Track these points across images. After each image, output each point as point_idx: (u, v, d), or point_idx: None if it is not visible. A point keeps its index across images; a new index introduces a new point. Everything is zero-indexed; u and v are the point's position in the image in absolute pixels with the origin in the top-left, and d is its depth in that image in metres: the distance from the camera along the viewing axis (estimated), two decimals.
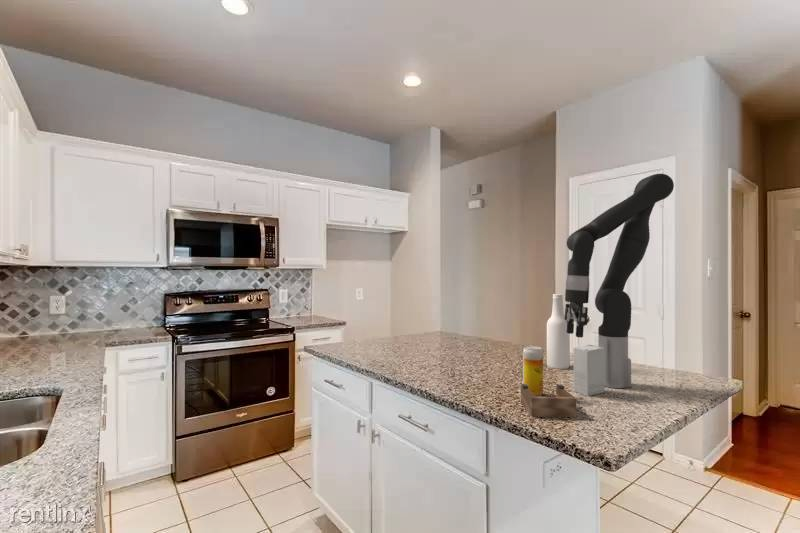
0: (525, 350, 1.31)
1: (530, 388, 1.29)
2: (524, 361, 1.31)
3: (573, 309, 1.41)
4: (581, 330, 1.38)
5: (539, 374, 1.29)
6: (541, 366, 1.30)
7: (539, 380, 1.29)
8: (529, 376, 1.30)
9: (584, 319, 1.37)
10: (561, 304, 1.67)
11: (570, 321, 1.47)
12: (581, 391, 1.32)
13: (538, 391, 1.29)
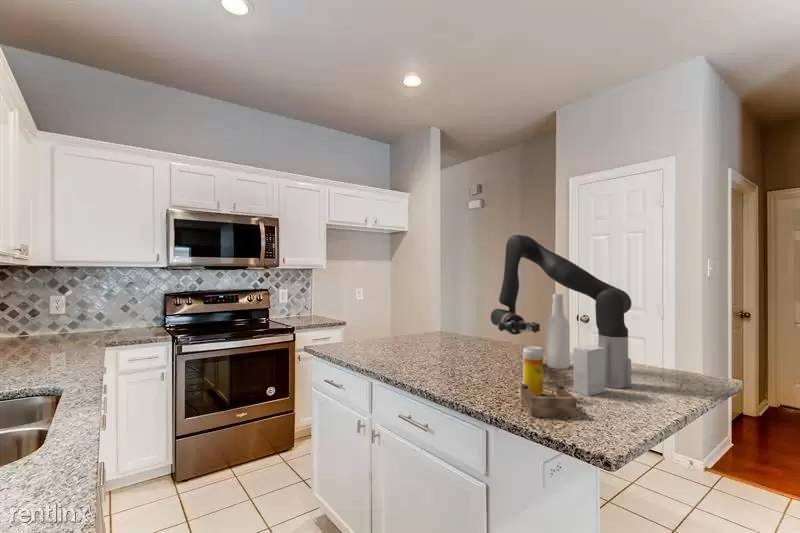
0: (525, 350, 1.31)
1: (530, 388, 1.29)
2: (524, 361, 1.31)
3: None
4: (506, 327, 1.46)
5: (539, 374, 1.29)
6: (541, 366, 1.30)
7: (539, 380, 1.29)
8: (529, 376, 1.30)
9: (502, 324, 1.50)
10: (561, 304, 1.67)
11: None
12: (581, 391, 1.32)
13: (538, 391, 1.29)
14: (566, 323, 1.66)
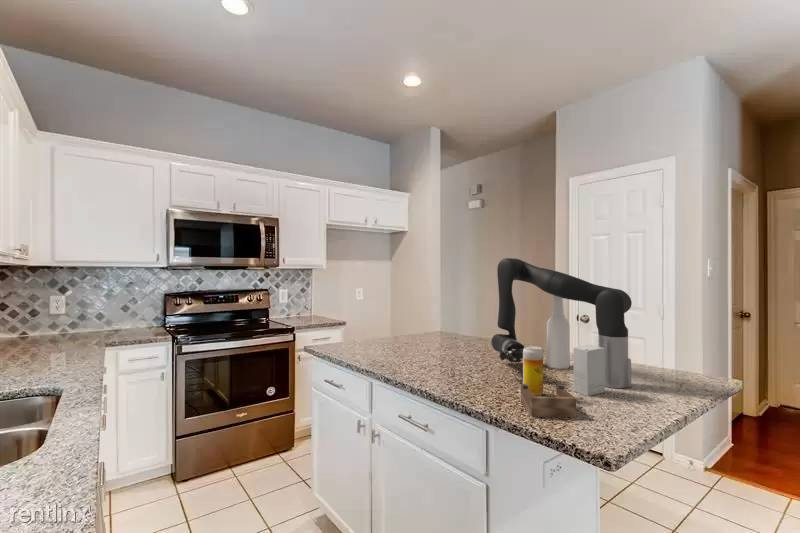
0: (525, 350, 1.31)
1: (530, 388, 1.29)
2: (524, 361, 1.31)
3: None
4: (507, 357, 1.45)
5: (539, 374, 1.29)
6: (541, 366, 1.30)
7: (539, 380, 1.29)
8: (529, 376, 1.30)
9: (503, 353, 1.48)
10: (561, 304, 1.67)
11: None
12: (581, 391, 1.32)
13: (538, 391, 1.29)
14: (566, 323, 1.66)
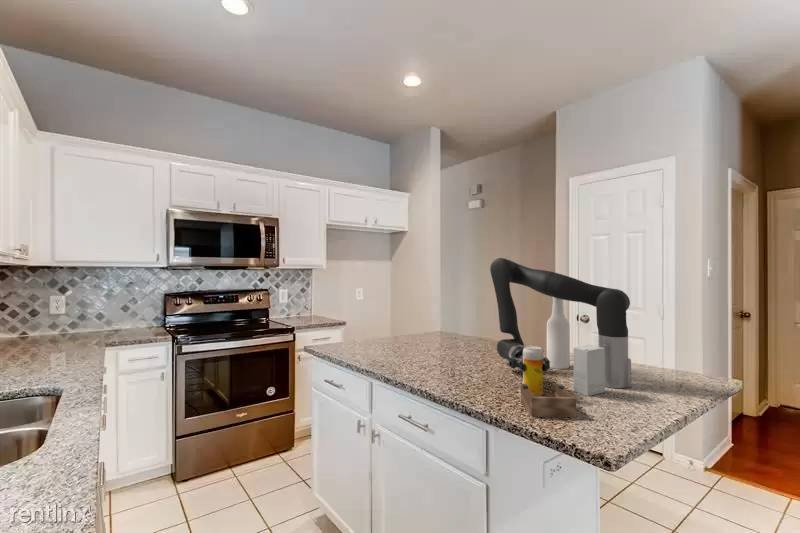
0: (525, 350, 1.31)
1: (530, 388, 1.29)
2: (524, 361, 1.31)
3: None
4: (519, 365, 1.32)
5: (539, 374, 1.29)
6: (541, 366, 1.30)
7: (539, 379, 1.29)
8: (529, 376, 1.30)
9: None
10: (561, 304, 1.67)
11: None
12: (581, 391, 1.32)
13: (538, 391, 1.29)
14: (566, 323, 1.66)
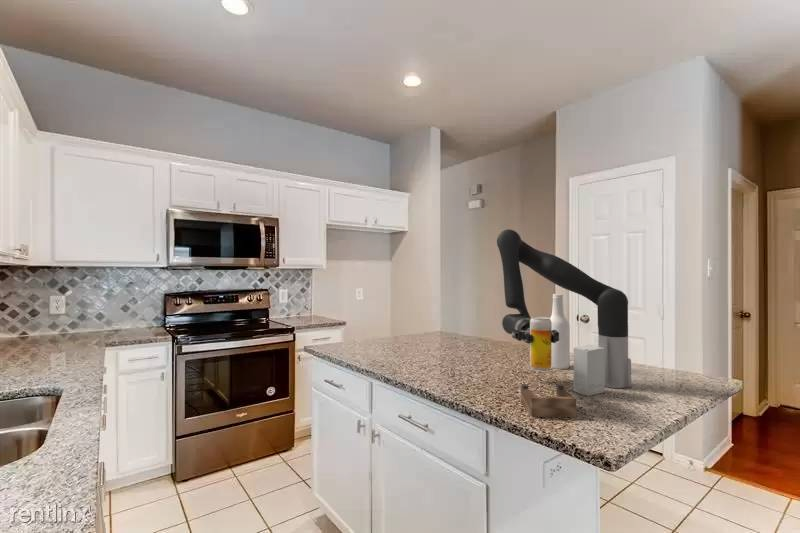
0: (532, 320, 1.21)
1: (537, 361, 1.20)
2: (531, 332, 1.22)
3: None
4: (525, 337, 1.23)
5: (548, 345, 1.20)
6: (549, 337, 1.20)
7: (547, 352, 1.19)
8: (536, 347, 1.20)
9: None
10: (561, 304, 1.67)
11: None
12: (581, 391, 1.32)
13: (546, 364, 1.19)
14: (566, 323, 1.66)
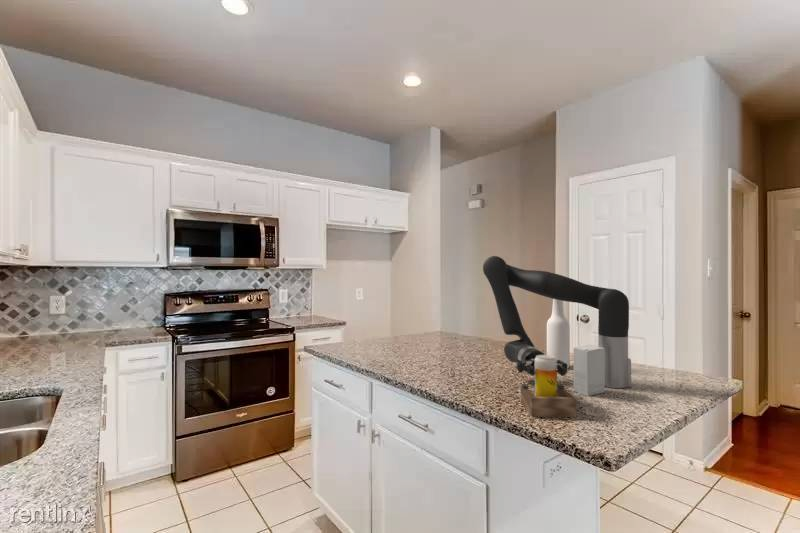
0: (537, 359, 1.18)
1: None
2: (535, 372, 1.18)
3: None
4: (526, 369, 1.19)
5: (553, 386, 1.16)
6: (555, 377, 1.16)
7: (553, 392, 1.16)
8: (541, 388, 1.16)
9: None
10: (561, 304, 1.67)
11: (557, 369, 1.21)
12: (581, 391, 1.32)
13: None
14: (566, 323, 1.66)
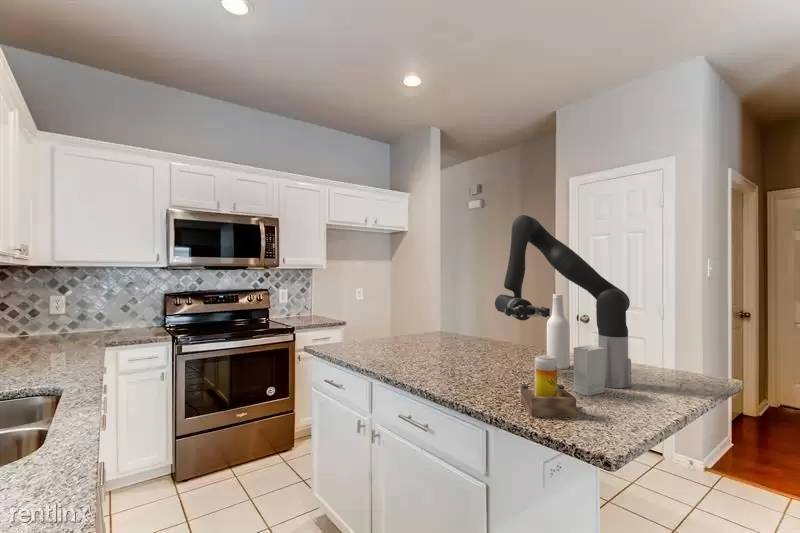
0: (537, 359, 1.18)
1: None
2: (536, 372, 1.18)
3: None
4: (514, 312, 1.36)
5: (553, 386, 1.16)
6: (555, 377, 1.16)
7: (553, 392, 1.16)
8: (541, 388, 1.16)
9: None
10: (561, 304, 1.67)
11: (541, 312, 1.37)
12: (581, 391, 1.32)
13: None
14: (566, 323, 1.66)
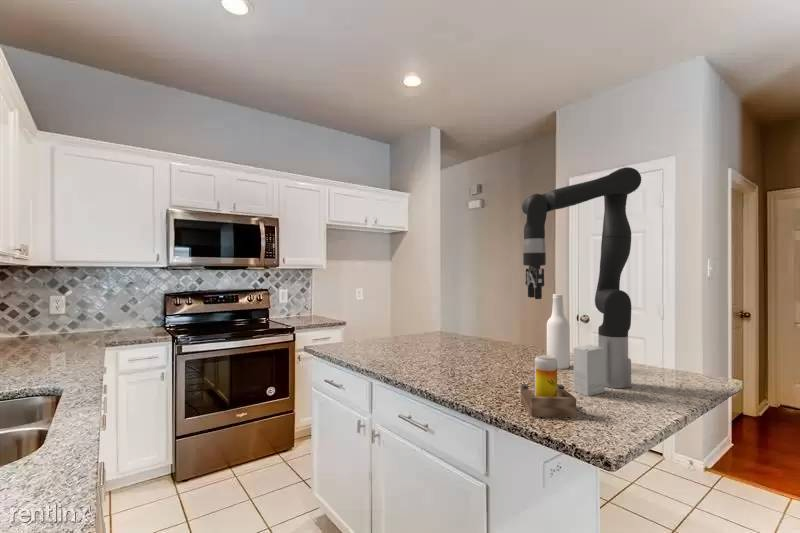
0: (537, 359, 1.18)
1: None
2: (536, 372, 1.18)
3: (531, 272, 1.42)
4: (539, 292, 1.39)
5: (554, 386, 1.16)
6: (555, 377, 1.16)
7: (553, 392, 1.16)
8: (541, 388, 1.16)
9: (541, 280, 1.38)
10: (561, 304, 1.67)
11: (530, 285, 1.48)
12: (581, 391, 1.32)
13: None
14: (566, 323, 1.66)
